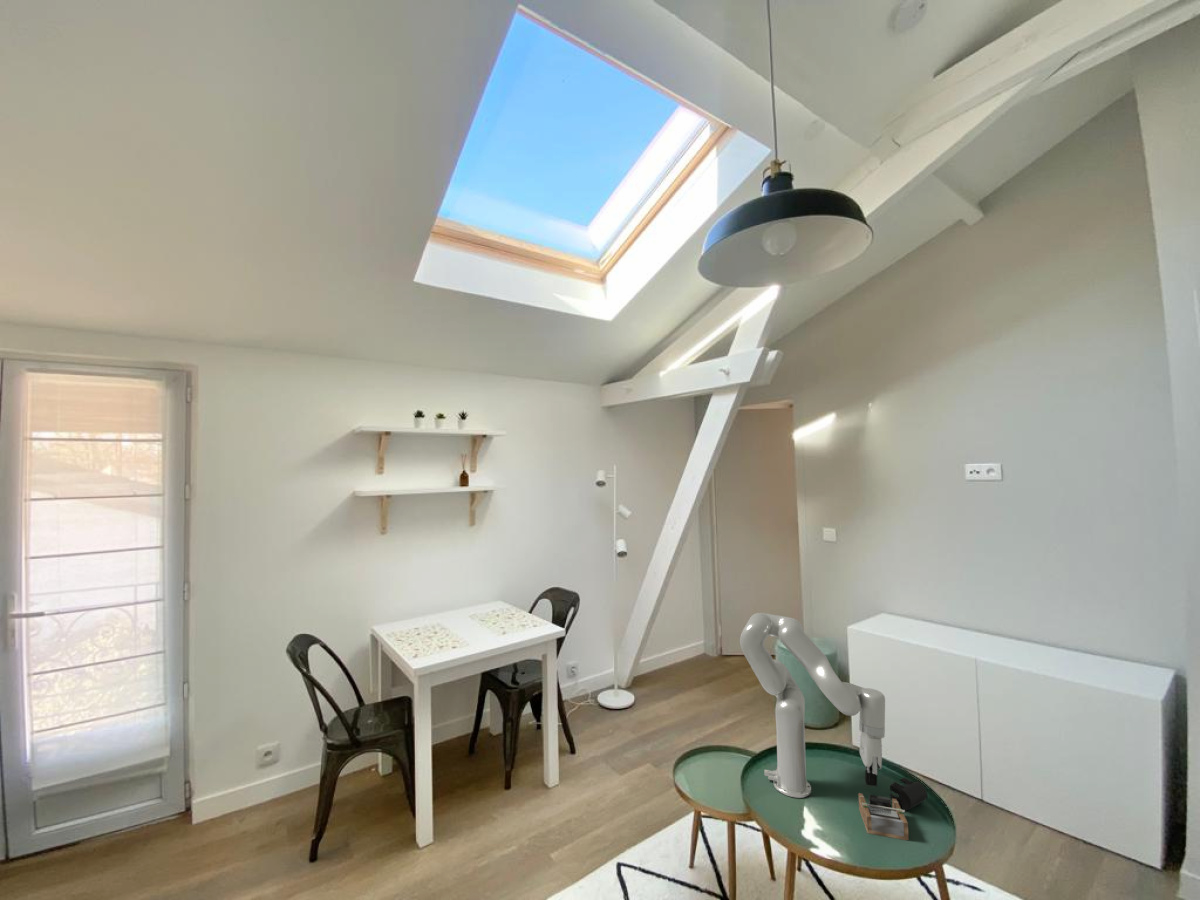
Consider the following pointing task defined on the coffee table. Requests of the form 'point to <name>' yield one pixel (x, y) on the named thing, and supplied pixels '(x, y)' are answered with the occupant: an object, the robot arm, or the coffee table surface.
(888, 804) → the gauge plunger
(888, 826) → the wood and grey box
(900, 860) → the coffee table surface
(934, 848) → the coffee table surface
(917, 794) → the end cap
